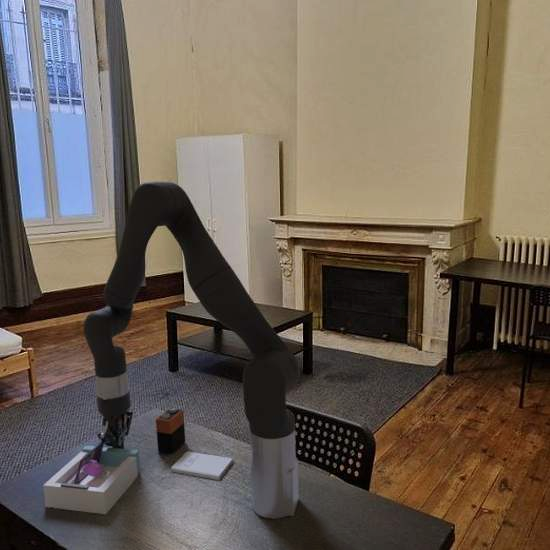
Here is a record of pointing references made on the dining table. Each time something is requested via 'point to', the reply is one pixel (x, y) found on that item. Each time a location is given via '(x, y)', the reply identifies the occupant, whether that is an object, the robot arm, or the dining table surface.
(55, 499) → the open box
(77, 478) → the purple toy kit
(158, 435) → the battery
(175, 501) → the dining table surface
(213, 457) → the external hard drive
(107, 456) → the drawer
